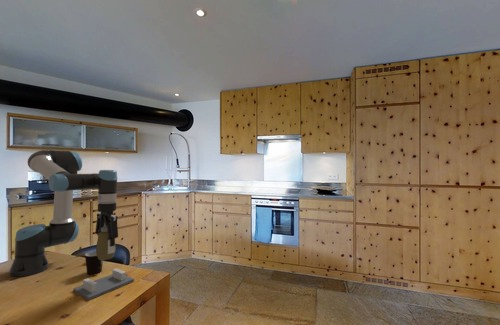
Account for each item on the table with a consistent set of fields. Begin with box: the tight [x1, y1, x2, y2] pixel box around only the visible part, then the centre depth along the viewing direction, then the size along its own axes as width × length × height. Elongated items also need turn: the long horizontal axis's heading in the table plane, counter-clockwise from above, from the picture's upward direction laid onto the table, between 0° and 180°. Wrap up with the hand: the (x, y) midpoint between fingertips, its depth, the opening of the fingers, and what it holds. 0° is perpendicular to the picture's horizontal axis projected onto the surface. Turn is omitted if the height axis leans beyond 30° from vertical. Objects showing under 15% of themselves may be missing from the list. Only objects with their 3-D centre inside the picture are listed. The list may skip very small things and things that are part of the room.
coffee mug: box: [84, 250, 104, 276], centre depth 126 cm, size 12×9×10 cm
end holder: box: [72, 267, 135, 301], centre depth 111 cm, size 14×20×5 cm
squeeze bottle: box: [95, 223, 117, 261], centre depth 111 cm, size 8×8×18 cm
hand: (106, 251), depth 111 cm, fingers closed on squeeze bottle, 8 cm apart
